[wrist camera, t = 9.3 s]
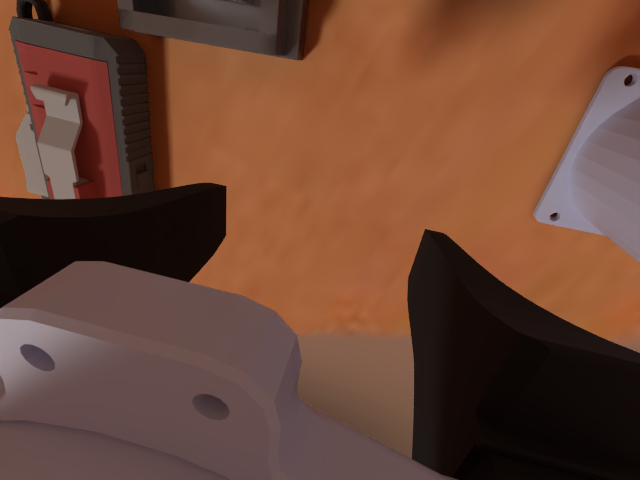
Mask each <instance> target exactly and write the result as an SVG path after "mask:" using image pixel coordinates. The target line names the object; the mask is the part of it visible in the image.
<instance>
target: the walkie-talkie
mask: <svg viewBox="0 0 640 480" xmlns="http://www.w3.org/2000/svg"><path fill="white" fill-rule="evenodd" d="M32 5H34V7H35V9H36V12H37V15H38V19H33V17H32ZM17 15H18V17H12V20H11V24H10V27H9V31H10V33H11V37H12V38H11V40H12V43H13V46H14V53H15V54H16V59H17V64H18V67H19V74H20V76H21V80H22V81H21V82H22V85H23V88H24V95H25V97H26V103H27V105H26V107H27V111H28V113H26V114H25V117H24V119H23V121H22V123H21V125H20V127H19V129H18V131H17V133H16V135H15V137H16V141H17V145H18V149H19V153H20V156H21V160H22V164H23V168H24V172H25V176H26V182H25V183H26V187H27V190H28V192H31V193H35V194H38V195H42V199H91V198H105V197H117V196H126V195H133V194H140V193H146V192H152V191H155V188H154V173H153V157H152V153H151V148H152V145H150V140H151V137H150V132H151V129H150V128H149V123H150V120H149V117H148V115H149V114H150V112H149V111H148V105H149V102H147V96H148V93H147V87H148V84H147V83H146V77H147V74H146V72H145V67H147V64H146V63H145V57H146V55H145V54H144V52H143V51H142V49H141V48H140V47H139V45H138V44H137V42H136V41H135V40H132V39H127V38H123V37H119V36H114V35H110V34H106V33H101V32H97V31H93V30H88V29H84V28H80V27H75V26H71V25H67V24H62V23H58V22H53V19H52V15H51V12H50V10H49V8H48V6H47V4H46V2H45V1H44V0H17Z"/></svg>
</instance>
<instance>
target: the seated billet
mask: <svg viewBox="0 0 640 480" xmlns="http://www.w3.org/2000/svg"><path fill="white" fill-rule="evenodd" d="M224 1H230V2H236V3H243V4H249V5H252V0H224Z"/></svg>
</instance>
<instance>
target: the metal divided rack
mask: <svg viewBox="0 0 640 480" xmlns="http://www.w3.org/2000/svg"><path fill="white" fill-rule="evenodd" d="M117 5H118V13H119V21H120V28H122V29H128V30H134V32H139V33H145V34H151V35H156V36H162V37H168V38H174V39H179V40H185V41H191V42H196V43H202V44H208V45H214V46H219V47H225V48H231V49H237V50H242V51H248V52H254V53H259V54H265V55H271V56H277V57H282V58H288V59H294V60H303V52H304V43H305V34H306V24H307V15H308V6H309V0H252V5H249V4H243V3H236V2H230V1H224V0H117Z"/></svg>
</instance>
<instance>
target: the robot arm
mask: <svg viewBox="0 0 640 480" xmlns="http://www.w3.org/2000/svg"><path fill="white" fill-rule="evenodd" d="M630 74H631V75H632V77H633V78H632V81H631V82H630V84H628V85H626V86H625V84H624V80H625V78H626V77H627V76H629V75H630ZM553 213H557V216H556V217H554V218H550V215H551V214H553ZM534 217H535V218H536V219H537V221H539V222H541V223H546V224H551V225H556V226H560V227H565V228H570V229H575V230H580V231H584V232H589V233H594V234H599V235H604V236H607V237H608V238H609V239H611V240H612V241H613V242H614V243H615V244H617V245H618V246H619V247H620V248H622V249H623V250H624V251H625V252H627V253H628V254H629V255H630V256H632V257H633V258H634V259H635V260H636V261H638V262H639V263H640V69H639V68H633V67H627V66H616V67H614V68H611V69H610V70H609V71H607V73H606V74H605V75H604V77H603V79H602V81H601V83H600V85H599V86H598V88H597V90H596V92H595V94H594V96H593V98H592V100H591V102H590V104H589V106H588V108H587V110H586V112H585V114H584V116H583V117H582V119H581V121H580V123H579V125H578V127H577V129H576V131H575V133H574V135H573V137H572V139H571V141H570V143H569V145H568V147H567V148H566V150H565V152H564V154H563V156H562V158H561V160H560V162H559V164H558V166H557V168H556V170H555V172H554V174H553V176H552V178H551V179H550V181H549V183H548V185H547V187H546V189H545V191H544V193H543V195H542V197H541V199H540V201H539V203H538V205H537V207H536V209H535V210H534ZM225 236H226V186H223V185H219V184H214V183H198V184H191V185H186V186H180V187H175V188H169V189H164V190H158V191H152V192H146V193H140V194H133V195H126V196H117V197H105V198H91V199H27V198H8V197H0V480H640V353H638V352H636V351H633V350H631V349H628V348H626V347H623V346H621V345H618V344H615V343H613V342H610V341H608V340H606V339H603V338H601V337H599V336H597V335H595V334H593V333H590V332H588V331H586V330H584V329H582V328H580V327H577V326H575V325H573V324H571V323H569V322H567V321H565V320H563V319H561V318H559V317H558V316H556V315H554V314H552V313H550V312H549V311H547V310H545V309H543V308H541V307H540V306H538V305H536V304H534V303H533V302H531V301H529V300H528V299H526V298H524V297H523V296H521V295H520V294H518V293H517V292H515V291H514V290H512V289H511V288H509V287H508V286H506V285H505V284H504V283H502V282H501V281H500V280H498V279H497V278H496V277H494V276H493V275H492V274H491V273H489V272H488V271H487V270H486V269H484V268H483V267H482V266H481V265H480V264H478V263H477V262H476V261H475V260H474V259H473V258H472V257H470V256H469V255H468V254H467V253H466V252H465V251H464V250H463V249H462V248H461V247H460V246H458V245H457V244H456V243H455V242H454V241H453V240H452V239H451V238H449V237H448V236H447V235H445V234H444V233H440V232H436V231H431V230H427V229H425V231H424V234H423V237H422V240H421V243H420V246H419V248H418V251H417V254H416V257H415V260H414V263H413V266H412V269H411V272H410V274H409V277H408V299H407V301H408V311H409V320H410V328H411V337H412V345H413V354H414V424H413V448H412V449H413V450H412V459H411V458H409V457H407V456H405V455H403V454H401V453H400V452H398V451H396V450H394V449H392V448H390V447H388V446H386V445H384V444H383V443H381V442H379V441H377V440H375V439H373V438H371V437H370V436H368V435H366V434H364V433H362V432H360V431H358V430H356V429H354V428H353V427H351V426H349V425H347V424H345V423H343V422H341V421H340V420H338V419H336V418H334V417H332V416H330V415H328V414H326V413H325V412H323V411H321V410H319V409H317V408H315V407H313V406H311V405H310V404H308V403H306V402H304V401H302V400H300V399H299V397H298V379H299V374H300V368H301V362H302V360H301V354H300V349H299V343H298V338H297V335H296V334H295V333H294V332H293V331H292V329H291V328H290V327H289V326H288V325H287V324H286V323H285V322H284V320H283V319H282V318H281V317H280V316H279V315H278V314H277V312H276V311H274V310H272V309H270V308H268V307H265V306H263V305H261V304H259V303H257V302H255V301H253V300H251V299H248V298H246V297H244V296H241V295H237V294H233V293H229V292H225V291H221V290H217V289H213V288H209V287H205V286H201V285H197V284H193V283H189V282H190V280H191V279H192V278H193V277H194V276H195V275H196V274H197V273H198V272H199V271H200V269H201V268H202V267H203V266H204V265H205V264H206V263H207V262H208V260H209V259H210V258H211V257H212V256H213V255H214V253H215V252H216V250H217V249H218V247H219V246H220V244H221V243H222V241H223V239H224V238H225Z"/></svg>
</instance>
